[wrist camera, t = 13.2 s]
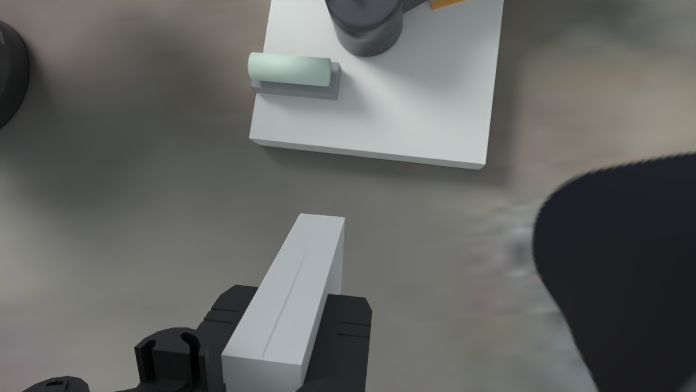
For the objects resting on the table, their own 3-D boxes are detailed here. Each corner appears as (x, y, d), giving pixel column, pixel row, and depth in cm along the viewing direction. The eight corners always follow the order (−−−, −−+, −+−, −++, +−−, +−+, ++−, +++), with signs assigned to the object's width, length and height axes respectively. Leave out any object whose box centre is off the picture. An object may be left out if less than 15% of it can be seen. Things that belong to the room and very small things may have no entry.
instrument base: (259, 145, 42) (231, 126, 35) (294, -72, 44) (274, -129, 37) (479, 169, 39) (495, 154, 32) (505, -66, 41) (526, -127, 34)
